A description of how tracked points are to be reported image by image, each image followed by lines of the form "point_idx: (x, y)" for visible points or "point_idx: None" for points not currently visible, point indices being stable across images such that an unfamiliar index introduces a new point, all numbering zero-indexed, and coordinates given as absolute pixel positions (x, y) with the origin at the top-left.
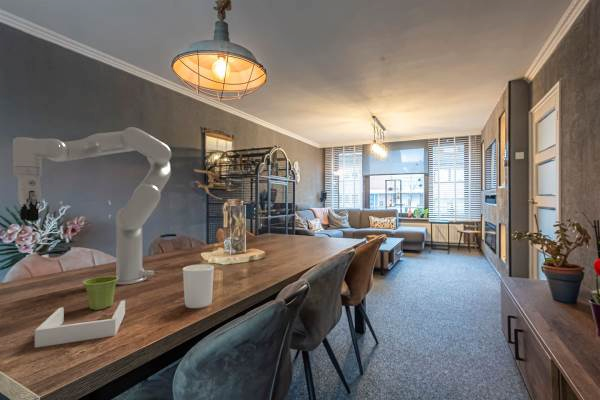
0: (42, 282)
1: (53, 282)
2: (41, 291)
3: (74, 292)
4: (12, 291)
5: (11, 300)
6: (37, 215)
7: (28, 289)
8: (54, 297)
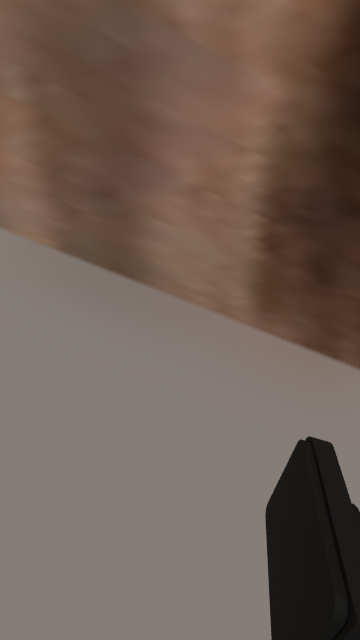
0: (71, 147)
1: (107, 122)
2: (210, 215)
3: (351, 161)
4: (122, 259)
5: (234, 306)
6: (340, 504)
7: (140, 223)
8: (338, 233)
